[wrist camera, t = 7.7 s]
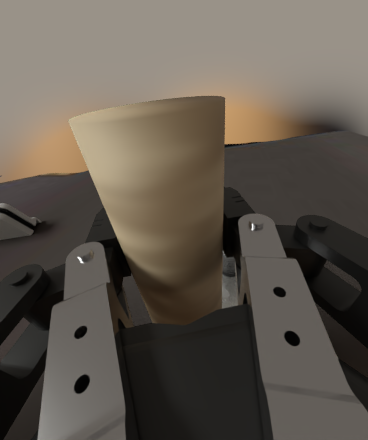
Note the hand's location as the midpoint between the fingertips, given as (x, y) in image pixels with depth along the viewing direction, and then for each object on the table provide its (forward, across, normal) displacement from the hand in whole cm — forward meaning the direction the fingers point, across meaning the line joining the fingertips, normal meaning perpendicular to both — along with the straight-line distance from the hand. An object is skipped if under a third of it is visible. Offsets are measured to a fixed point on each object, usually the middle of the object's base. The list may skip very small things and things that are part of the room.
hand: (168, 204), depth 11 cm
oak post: (-3, 0, +7) cm, 8 cm away
